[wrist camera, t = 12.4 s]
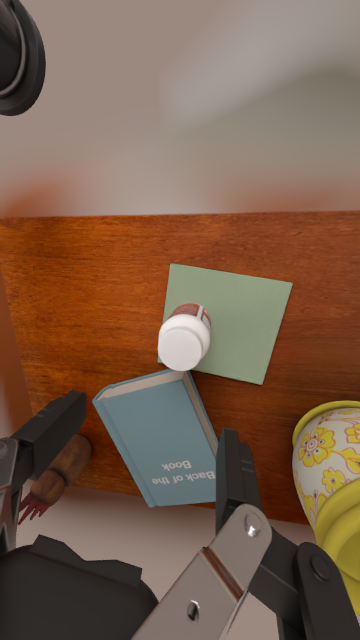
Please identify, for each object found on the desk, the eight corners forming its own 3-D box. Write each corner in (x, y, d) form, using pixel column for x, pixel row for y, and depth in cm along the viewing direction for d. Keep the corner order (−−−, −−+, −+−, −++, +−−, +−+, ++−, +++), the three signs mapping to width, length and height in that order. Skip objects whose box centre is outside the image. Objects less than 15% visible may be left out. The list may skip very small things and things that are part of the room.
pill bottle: (164, 327, 34) (140, 358, 23) (183, 293, 32) (167, 311, 21) (198, 348, 33) (189, 388, 23) (219, 315, 32) (221, 343, 21)
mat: (171, 263, 31) (170, 263, 31) (291, 282, 29) (293, 283, 29) (158, 360, 36) (157, 362, 35) (261, 383, 34) (262, 385, 33)
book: (230, 470, 39) (231, 499, 35) (152, 480, 43) (144, 507, 39) (186, 364, 35) (181, 381, 30) (104, 386, 39) (88, 404, 34)
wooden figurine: (62, 436, 44) (-11, 519, 30) (79, 424, 43) (10, 506, 28) (84, 459, 45) (23, 551, 31) (102, 448, 43) (46, 540, 29)
